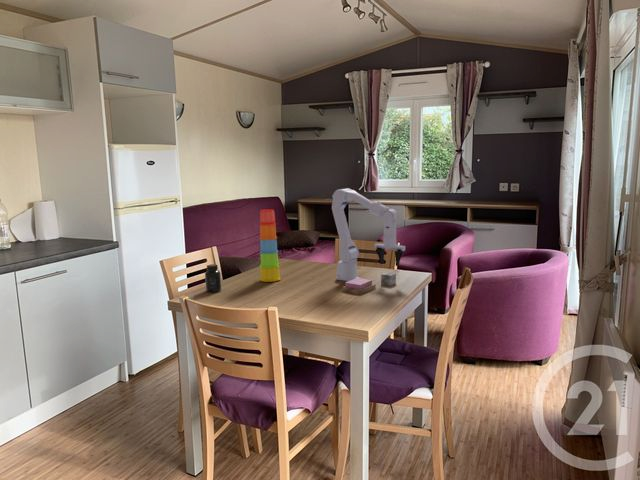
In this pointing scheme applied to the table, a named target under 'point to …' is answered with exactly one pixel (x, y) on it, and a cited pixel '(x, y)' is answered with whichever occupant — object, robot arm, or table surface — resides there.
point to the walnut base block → (359, 291)
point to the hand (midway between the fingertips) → (389, 264)
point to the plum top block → (358, 283)
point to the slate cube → (388, 278)
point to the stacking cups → (268, 247)
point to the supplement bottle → (213, 279)
